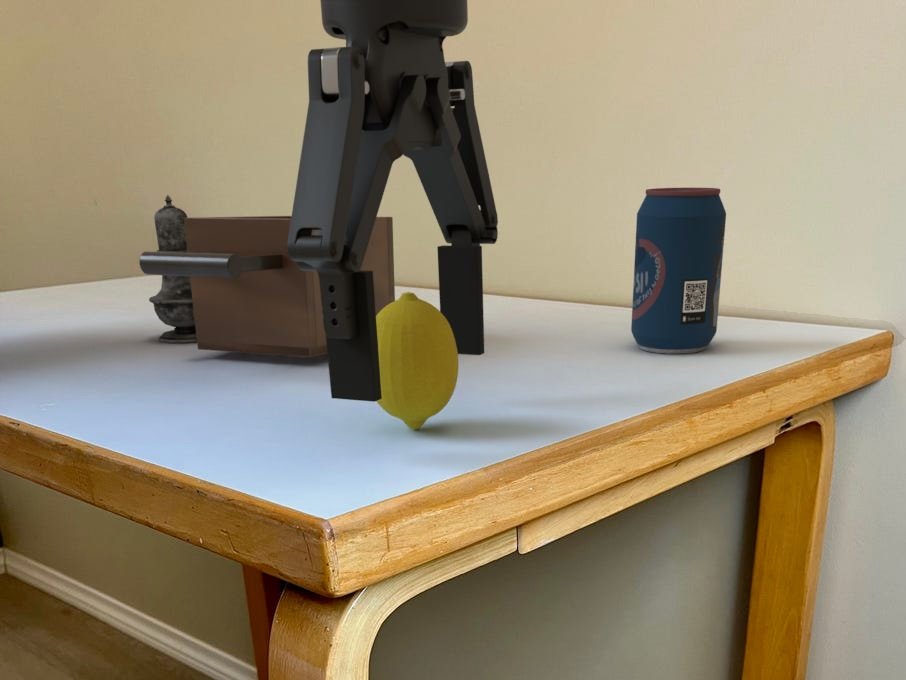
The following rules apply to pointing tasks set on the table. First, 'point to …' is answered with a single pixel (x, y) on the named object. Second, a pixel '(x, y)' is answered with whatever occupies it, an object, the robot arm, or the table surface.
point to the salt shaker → (174, 279)
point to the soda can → (678, 269)
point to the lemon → (415, 360)
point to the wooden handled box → (261, 284)
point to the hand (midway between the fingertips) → (414, 374)
